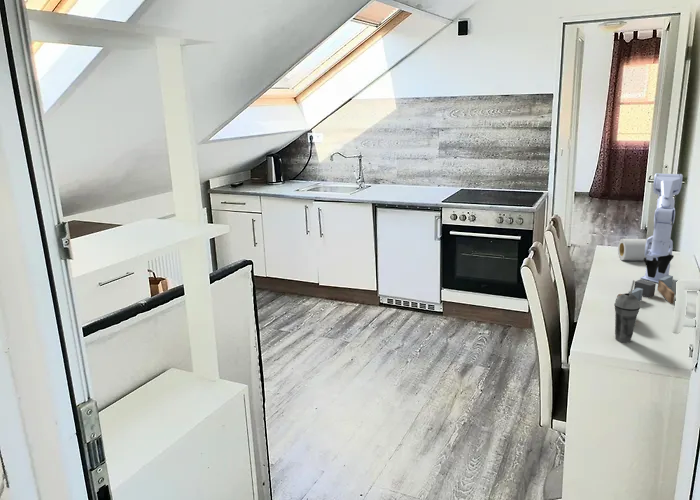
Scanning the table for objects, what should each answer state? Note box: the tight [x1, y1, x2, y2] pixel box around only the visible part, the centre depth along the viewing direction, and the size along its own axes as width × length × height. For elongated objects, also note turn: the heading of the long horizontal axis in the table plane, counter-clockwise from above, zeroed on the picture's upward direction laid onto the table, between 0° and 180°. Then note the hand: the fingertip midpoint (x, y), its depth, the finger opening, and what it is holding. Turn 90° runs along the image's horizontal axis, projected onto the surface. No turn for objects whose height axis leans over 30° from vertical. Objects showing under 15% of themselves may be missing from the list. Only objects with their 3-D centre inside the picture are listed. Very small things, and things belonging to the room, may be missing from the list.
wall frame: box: [628, 274, 674, 302], centre depth 214 cm, size 30×2×4 cm, turn 125°
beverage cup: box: [614, 279, 641, 344], centre depth 174 cm, size 7×7×20 cm
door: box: [657, 280, 676, 305], centre depth 211 cm, size 15×1×4 cm, turn 169°
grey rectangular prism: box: [633, 278, 657, 299], centre depth 214 cm, size 4×6×5 cm, turn 35°
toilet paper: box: [617, 238, 649, 262], centre depth 256 cm, size 10×10×10 cm
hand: (656, 274), depth 209 cm, fingers open, 7 cm apart
